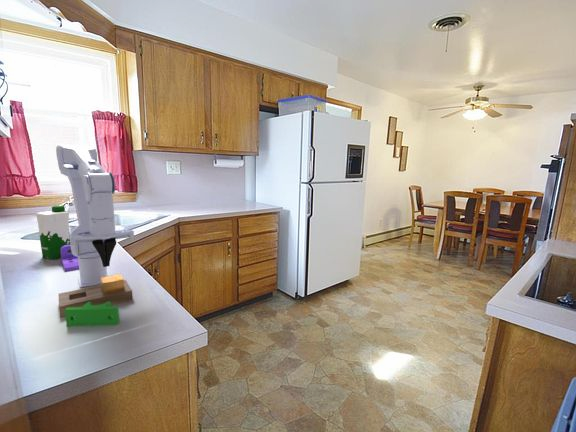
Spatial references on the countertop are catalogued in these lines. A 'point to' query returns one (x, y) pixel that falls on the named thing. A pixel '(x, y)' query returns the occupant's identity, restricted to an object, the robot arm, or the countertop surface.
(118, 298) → the board
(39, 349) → the countertop surface
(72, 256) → the bracket
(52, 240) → the milk carton
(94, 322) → the pipe clamp
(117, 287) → the orange block
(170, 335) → the countertop surface
